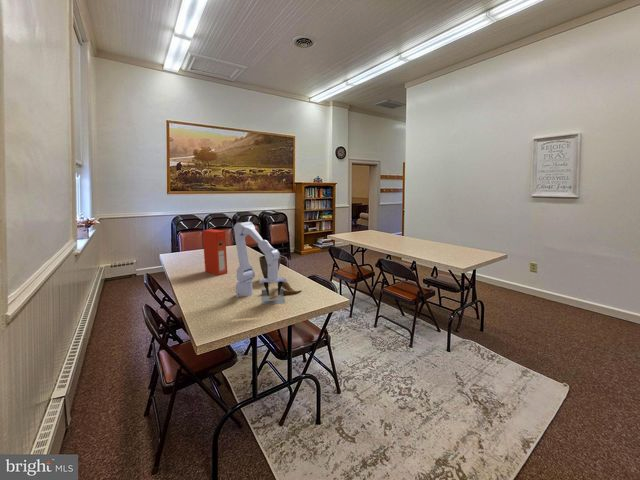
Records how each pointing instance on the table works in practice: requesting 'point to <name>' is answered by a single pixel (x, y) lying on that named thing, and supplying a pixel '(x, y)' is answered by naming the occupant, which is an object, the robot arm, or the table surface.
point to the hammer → (289, 289)
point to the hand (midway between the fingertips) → (273, 295)
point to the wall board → (272, 301)
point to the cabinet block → (273, 293)
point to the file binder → (215, 251)
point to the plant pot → (266, 266)
